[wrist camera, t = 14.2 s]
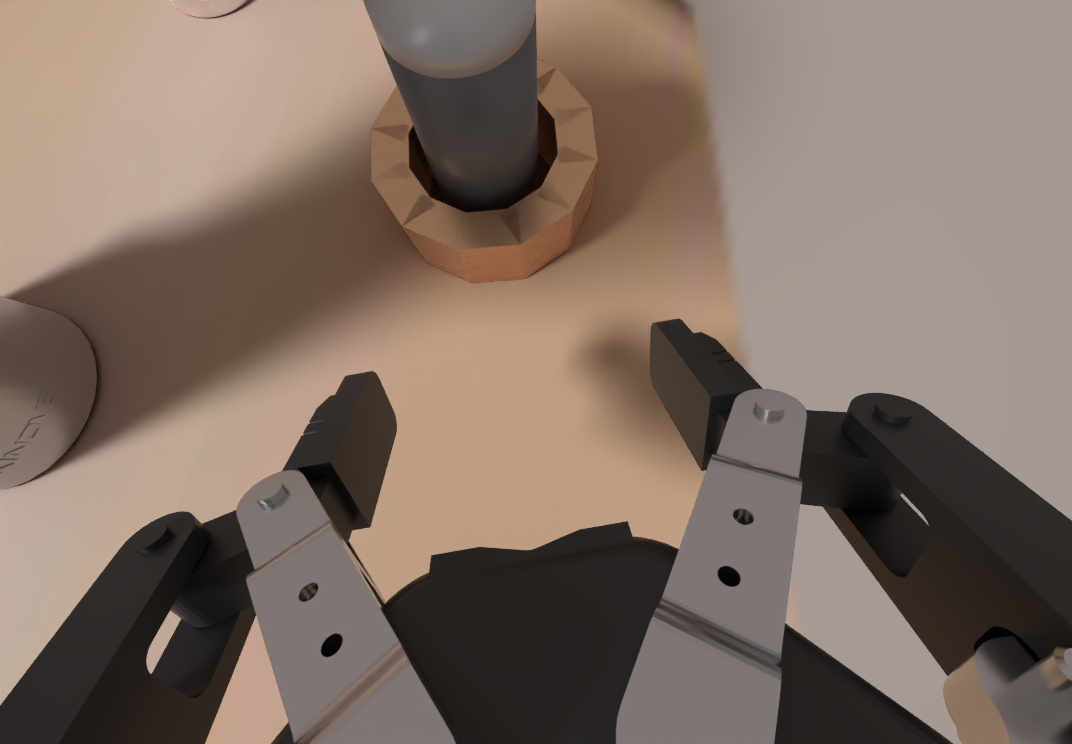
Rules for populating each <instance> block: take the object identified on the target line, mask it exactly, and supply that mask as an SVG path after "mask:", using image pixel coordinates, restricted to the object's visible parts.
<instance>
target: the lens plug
mask: <svg viewBox="0 0 1072 744" xmlns="http://www.w3.org/2000/svg"><path fill="white" fill-rule="evenodd" d="M364 4H365V7H366V9H367V12H368V14H369V17H370V19H371V22H372V24H373V27H374V29H375V32H376V34H377V37H378V39H379V42H380V44H381V46H382V49H383V51H384V54H385V56H386V59H387V61H388V64H389V66H390V69H391V71H392V74H393V76H394V79H395V81H396V84H397V86H398V89H399V91H400V94H401V96H402V99H403V101H404V103H405V106H406V108H407V111H408V113H409V116H410V118H411V121H412V123H413V126H414V128H415V131H416V133H417V136H418V138H419V141H420V143H421V146H422V148H423V151H424V153H425V156H426V158H427V160H428V163H429V165H430V168H431V170H432V173H433V175H434V178H435V180H436V183H437V185H438V188H439V190H440V193H441V195H442V198H443V200H444V203H445V204H447V205H449V206H452V207H454V208H456V209H459V210H461V211H463V212H466V213H468V212H479V211H490V210H501V209H508V208H509V207H511V206H512V205H514V204H515V203H517V202H519V201H520V200H522V199H523V198H525V197H526V196H528V195H530V194H531V193H533V192H534V191H536V190H537V189H539V152H538V100H537V48H536V0H364Z"/></svg>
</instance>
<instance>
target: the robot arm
mask: <svg viewBox="0 0 1072 744" xmlns="http://www.w3.org/2000/svg"><path fill="white" fill-rule="evenodd" d="M650 374H651V379H652V383H653V386H654V388H655V390H656V392H657V394H658V396H659V397H660V399H661V401H662V403H663V404H664V406H665V408H666V410H667V411H668V413H669V415H670V417H671V418H672V420H673V422H674V424H675V425H676V427H677V429H678V431H679V432H680V434H681V436H682V438H683V439H684V441H685V443H686V445H687V446H688V448H689V450H690V452H691V453H692V455H693V457H694V459H695V460H696V462H697V464H698V466H699V467H700V469H701V471H704V470H706V473H705V476H704V479H703V482H702V485H701V488H700V490H699V493H698V496H697V499H696V502H695V505H694V508H693V510H692V513H691V516H690V519H689V522H688V525H687V528H686V531H685V533H684V536H683V539H682V542H681V545H680V548H679V549H677V548H675V547H672V546H670V545H668V544H665V543H662V542H659V541H656V540H652V539H647V538H642V537H632V534H631V531H630V527H629V524H628V521H627V522H621V523H615V524H610V525H604V526H598V527H592V528H587V529H581V530H578V531H575V532H573V533H571V534H568V535H566V536H564V537H561V538H559V539H557V540H554V541H552V542H550V543H548V544H545V545H543V546H541V547H538V548H536V549H533V550H513V549H499V548H485V547H477V548H471V549H466V550H460V551H454V552H448V553H443V554H437V555H431V563H430V571H429V573H427V574H425V575H423V576H421V577H419V578H417V579H416V580H414V581H412V582H411V583H409V584H408V585H406V586H405V587H404V588H402V589H401V590H400V591H398V592H397V593H396V594H395V595H394V596H393V597H391V598H390V599H389V600H388V601H387V602H386V600H385V599H384V597H383V595H382V594H381V592H380V591H379V589H378V587H377V586H376V584H375V582H374V581H373V579H372V577H371V576H370V574H369V572H368V571H367V569H366V568H365V566H364V564H363V563H362V561H361V559H360V558H359V556H358V554H357V553H356V551H355V549H354V548H353V546H352V545H351V543H350V542H349V538H350V535H351V532H352V530H357V529H362V528H368V527H370V526H371V523H372V519H373V515H374V512H375V508H376V505H377V501H378V497H379V494H380V490H381V486H382V483H383V479H384V476H385V472H386V468H387V465H388V461H389V458H390V454H391V450H392V447H393V443H394V440H395V436H396V432H397V422H396V417H395V413H394V411H393V409H392V406H391V404H390V402H389V400H388V397H387V395H386V393H385V390H384V388H383V386H382V384H381V381H380V379H379V377H378V375H377V374H376V373H375V372H373V371H371V372H365V373H359V374H353V375H348V376H345V377H344V379H343V381H342V383H341V385H340V387H339V389H338V391H337V392H336V394H335V395H332V396H330V397H329V398H328V399H327V400H325V401H324V402H323V403H322V404H321V405H320V406H319V407H318V408H317V409H316V411H315V413H314V415H313V416H312V418H311V420H310V424H308V425H307V427H306V429H305V431H304V435H303V436H301V438H300V440H299V442H298V443H297V445H296V447H295V449H294V450H293V452H292V454H291V456H290V458H289V459H288V461H287V463H286V465H285V467H284V468H283V470H282V472H278V473H275V474H273V475H271V476H268V477H267V478H265V479H263V480H261V481H260V482H258V483H257V484H256V485H254V486H253V487H252V488H251V489H250V490H248V492H247V493H246V494H245V495H244V496H243V497H242V499H241V500H240V502H239V504H238V506H237V510H235V511H233V512H230V513H228V514H225V515H223V516H220V517H218V518H215V519H213V520H210V521H208V522H206V523H203V524H201V523H200V522H199V521H198V520H197V519H196V518H195V517H194V516H193V515H192V514H191V513H189V512H175V513H171V514H168V515H165V516H163V517H161V518H159V519H156V520H155V521H153V522H151V523H149V524H148V525H146V526H145V527H143V528H142V529H140V530H139V531H138V532H136V533H135V534H134V535H133V536H132V537H130V538H129V539H128V540H127V541H126V542H125V543H124V545H123V546H122V547H121V548H120V549H119V551H118V552H117V553H116V555H115V556H114V557H113V559H112V560H111V561H110V563H109V564H108V565H107V566H106V568H105V569H104V570H103V572H102V573H101V574H100V576H99V577H98V578H97V580H96V581H95V582H94V583H93V585H92V586H91V587H90V589H89V590H88V591H87V593H86V594H85V595H84V597H83V598H82V599H81V601H80V602H79V603H78V604H77V606H76V607H75V608H74V610H73V611H72V612H71V614H70V615H69V616H68V618H67V619H66V620H65V622H64V623H63V624H62V625H61V627H60V628H59V629H58V631H57V632H56V633H55V635H54V636H53V637H52V639H51V640H50V641H49V642H48V644H47V645H46V646H45V648H44V649H43V650H42V652H41V653H40V654H39V656H38V657H37V658H36V660H35V661H34V662H33V663H32V665H31V666H30V667H29V669H28V670H27V671H26V673H25V674H24V675H23V677H22V678H21V679H20V680H19V682H18V683H17V684H16V686H15V687H14V688H13V690H12V691H11V692H10V694H9V695H8V696H7V698H6V699H5V700H4V701H3V703H2V704H1V705H0V744H205V742H206V739H207V737H208V734H209V732H210V729H211V727H212V724H213V722H214V719H215V717H216V714H217V712H218V709H219V707H220V704H221V702H222V699H223V697H224V694H225V692H226V689H227V687H228V684H229V682H230V679H231V677H232V674H233V672H234V669H235V667H236V664H237V662H238V659H239V656H240V654H241V651H242V649H243V646H244V644H245V641H246V639H247V636H248V634H249V631H250V629H251V626H252V624H253V621H254V619H255V616H257V619H258V622H259V625H260V629H261V632H262V635H263V639H264V642H265V645H266V649H267V652H268V655H269V658H270V662H271V665H272V668H273V672H274V675H275V678H276V682H277V685H278V688H279V692H280V695H281V698H282V701H283V705H284V708H285V711H286V715H287V718H288V721H289V722H288V723H287V725H286V726H285V727H284V728H283V730H282V731H281V732H280V733H279V735H278V736H277V737H276V738H275V739H274V741H273V742H272V743H271V744H953V743H951V742H950V741H949V740H948V739H946V738H945V737H943V736H942V735H941V734H940V733H938V732H937V731H935V730H934V729H933V728H931V727H930V726H928V725H927V724H926V723H924V722H923V721H921V720H920V719H919V718H917V717H916V716H914V715H913V714H912V713H910V712H909V711H907V710H906V709H905V708H903V707H902V706H900V705H899V704H898V703H896V702H895V701H893V700H892V699H891V698H889V697H888V696H886V695H885V694H884V693H882V692H881V691H879V690H878V689H877V688H875V687H874V686H872V685H871V684H870V683H868V682H866V681H865V680H864V679H863V678H861V677H860V676H858V675H857V674H855V673H854V672H853V671H851V670H850V669H849V668H847V667H846V666H844V665H843V664H842V663H840V662H839V661H837V660H836V659H834V658H833V657H832V656H830V655H829V654H827V653H826V652H825V651H823V650H822V649H820V648H819V647H818V646H816V645H815V644H814V643H812V642H811V641H809V640H808V639H807V638H805V637H804V636H802V635H801V634H800V633H798V632H797V631H795V630H794V629H793V628H791V627H790V626H788V625H787V624H786V623H785V619H786V611H787V603H788V595H789V587H790V579H791V571H792V563H793V555H794V547H795V539H796V531H797V523H798V514H799V507H800V504H805V505H813V506H823V507H824V509H825V510H826V512H827V513H828V514H829V516H830V517H831V519H832V520H833V521H834V523H835V524H836V525H837V527H838V528H839V529H840V530H841V532H842V533H843V535H844V536H845V537H846V539H847V540H848V542H849V543H850V544H851V545H852V547H853V548H854V550H855V551H856V552H857V554H858V555H859V556H860V558H861V559H862V560H863V562H864V563H865V565H866V566H867V567H868V569H869V570H870V571H871V572H872V574H873V575H874V577H875V578H876V580H877V581H878V582H879V583H880V585H881V586H882V588H883V589H884V590H885V592H886V593H887V594H888V596H889V597H890V599H891V600H892V601H893V603H894V604H895V605H896V607H897V608H898V609H899V611H900V612H901V614H902V615H903V616H904V617H905V619H906V620H907V622H908V623H909V624H910V626H911V627H912V628H913V630H914V631H915V633H916V634H917V635H918V637H919V638H920V639H921V641H922V642H923V643H924V645H925V646H926V647H927V649H928V650H929V652H930V653H931V654H932V656H933V657H934V658H935V660H936V661H937V662H938V664H939V665H940V666H941V668H942V669H943V670H944V672H945V673H946V675H947V676H948V677H947V679H946V681H945V683H944V688H943V693H944V700H945V704H946V707H947V710H948V712H949V715H950V717H951V718H952V720H953V722H954V724H955V725H956V727H957V734H958V737H959V739H960V741H961V743H962V744H1072V521H1071V520H1070V519H1069V518H1067V517H1066V516H1065V515H1063V514H1062V513H1061V512H1060V511H1058V510H1057V509H1056V508H1054V507H1053V506H1052V505H1050V504H1049V503H1048V502H1047V501H1045V500H1044V499H1043V498H1041V497H1040V496H1039V495H1038V494H1036V493H1035V492H1034V491H1032V490H1031V489H1030V488H1028V487H1027V486H1026V485H1025V484H1023V483H1022V482H1021V481H1019V480H1018V479H1017V478H1015V477H1014V476H1013V475H1012V474H1010V473H1009V472H1008V471H1006V470H1005V469H1004V468H1002V467H1001V466H1000V465H999V464H997V463H996V462H995V461H993V460H992V459H991V458H989V457H988V456H987V455H986V454H984V453H983V452H982V451H980V450H979V449H978V448H977V447H975V446H974V445H973V444H971V443H970V442H969V441H967V440H966V439H965V438H964V437H962V436H961V435H960V434H958V433H957V432H956V431H955V430H953V429H952V428H950V427H949V426H948V425H947V424H946V423H944V422H943V421H942V420H940V419H939V418H938V417H936V416H935V415H934V414H933V413H931V412H930V411H929V410H927V409H926V408H924V407H923V406H921V405H919V404H917V403H916V402H913V401H911V400H909V399H906V398H903V397H899V396H895V395H890V394H884V393H867V394H863V395H860V396H857V397H855V398H854V399H853V400H852V401H851V403H850V405H849V408H848V410H847V412H829V411H811V410H806V409H805V408H804V406H803V405H802V404H801V403H800V402H799V401H798V400H797V399H795V398H793V397H792V396H790V395H788V394H785V393H782V392H779V391H775V390H770V389H762V387H761V386H760V385H759V384H758V383H757V382H756V381H755V380H754V379H753V378H752V377H751V376H750V375H749V374H748V373H747V371H746V370H745V369H744V368H743V367H742V366H741V365H740V364H739V363H738V362H737V361H735V359H734V358H733V357H732V356H731V355H730V353H729V352H727V351H726V349H725V348H724V347H723V346H722V345H721V344H720V343H719V342H718V341H717V340H716V339H714V338H712V337H710V336H708V335H706V334H704V333H702V332H699V333H692V331H691V330H690V329H689V328H688V327H687V326H686V324H685V323H684V322H683V321H682V320H681V319H673V320H668V321H662V322H656V323H653V324H652V326H651V340H650ZM96 383H97V372H96V361H95V357H94V354H93V351H92V349H91V346H90V343H89V342H88V340H87V339H86V337H85V336H84V334H83V333H82V331H81V330H80V329H79V328H78V327H77V326H76V325H75V324H74V323H73V322H71V321H70V320H69V319H68V318H66V317H64V316H62V315H60V314H58V313H56V312H54V311H51V310H47V309H43V308H40V307H36V306H33V305H29V304H25V303H22V302H18V301H15V300H11V299H7V298H4V297H0V490H4V489H9V488H12V487H14V486H17V485H19V484H22V483H24V482H27V481H29V480H31V479H32V478H34V477H35V476H37V475H39V474H40V473H42V472H43V471H45V470H47V469H48V468H49V467H50V466H51V465H52V464H54V463H55V462H56V461H57V460H58V459H59V458H60V457H61V456H62V455H64V454H65V452H66V451H67V450H68V449H69V447H70V446H71V445H72V443H73V442H74V441H75V440H76V438H77V437H78V436H79V434H80V432H81V430H82V428H83V426H84V424H85V423H86V421H87V419H88V417H89V414H90V411H91V408H92V405H93V402H94V398H95V392H96ZM902 493H903V494H904V495H905V496H906V497H907V498H908V499H909V500H910V501H911V503H912V504H913V505H914V506H915V507H916V508H917V509H918V510H919V511H920V512H921V513H922V514H923V515H924V517H925V518H926V520H927V522H928V524H929V526H928V525H927V524H926V522H925V521H924V520H923V519H922V518H921V517H920V516H919V515H918V514H917V513H916V512H915V511H914V510H913V509H912V508H911V507H910V506H909V505H908V504H907V502H905V500H903V498H902V497H901V496H900V495H901V494H902ZM170 610H171V611H172V612H173V613H175V614H176V615H177V616H179V617H180V618H181V621H180V622H179V624H178V626H177V628H176V630H175V632H174V634H173V635H172V637H171V639H170V641H169V643H168V645H167V647H166V648H165V650H164V652H163V654H162V656H161V658H160V660H159V661H158V663H157V665H156V667H155V669H154V671H153V673H152V674H150V673H149V671H148V669H147V665H146V658H147V652H148V649H149V647H150V645H151V643H152V641H153V639H154V637H155V636H156V634H157V632H158V630H159V629H160V627H161V625H162V623H163V622H164V620H165V618H166V616H167V615H168V613H169V611H170Z"/></svg>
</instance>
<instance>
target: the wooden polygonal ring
mask: <svg viewBox="0 0 1072 744" xmlns="http://www.w3.org/2000/svg"><path fill="white" fill-rule="evenodd" d="M537 100H538V152H539V154H540V155H541V156H542V157H543V159H544V160H545V161H546V162H547V164H548V165H549V166H550V167H551V169H550V171H549V173H548V175H547V176H546V178H545V180H544V182H543V184H542V186H541V187H540V188H539V189H537V190H536V191H534V192H533V193H531V194H530V195H528V196H526V197H525V198H523V199H522V200H520V201H519V202H517V203H515V204H514V205H512V206H511V207H509V208H508V209H501V210H490V211H479V212H468V213H466V212H463V211H461V210H459V209H456V208H454V207H452V206H449V205H447V204H444V203H442V202H440V201H437V200H435V199H433V198H431V181H432V180H433V178H434V175H433V173H432V170H431V168H430V165H429V163H428V160H427V158H426V156H425V153H424V151H423V148H422V146H421V143H420V141H419V138H418V136H417V133H416V131H415V128H414V126H413V123H412V121H411V118H410V116H409V113H408V111H407V108H406V106H405V103H404V101H403V99H402V96H401V94H400V91H399V89H398V86H396V88H395V90H394V91H393V93H392V94H391V96H390V98H389V99H388V101H387V103H386V104H385V106H384V107H383V109H382V111H381V112H380V114H379V116H378V117H377V119H376V120H375V122H374V124H373V125H372V127H371V182H372V183H373V185H374V186H375V188H376V189H377V191H378V192H379V194H380V195H381V197H382V198H383V200H384V201H385V203H386V204H387V206H388V207H389V209H390V210H391V212H392V213H393V215H394V216H395V218H396V219H397V221H398V222H399V224H400V225H401V226H402V228H403V229H404V231H405V232H406V234H407V235H408V237H409V238H410V239H411V241H412V242H413V244H414V245H415V247H416V248H417V250H418V251H419V253H420V254H421V256H422V257H423V258H424V260H425V261H426V263H428V264H431V265H433V266H435V267H437V268H440V269H442V270H444V271H446V272H449V273H451V274H453V275H455V276H458V277H460V278H462V279H464V280H467V281H469V282H471V283H480V282H491V281H502V280H514V279H525V278H527V277H528V276H530V275H531V274H533V273H534V272H536V271H537V270H539V269H540V268H542V267H543V266H545V265H546V264H548V263H549V262H551V261H553V260H554V259H556V258H557V257H559V256H560V255H562V254H563V253H565V252H566V251H568V250H569V248H570V246H571V244H572V242H573V240H574V238H575V236H576V234H577V232H578V230H579V228H580V226H581V224H582V222H583V220H584V218H585V216H586V214H587V212H588V210H589V208H590V204H591V198H592V192H593V186H594V180H595V174H596V168H597V162H598V156H597V148H596V140H595V132H594V124H593V116H592V107H591V106H590V105H589V103H588V102H587V101H586V100H585V99H584V98H583V96H582V95H581V94H580V93H579V92H578V91H577V89H576V88H575V87H574V86H573V85H572V83H571V82H570V81H569V80H568V79H567V78H566V76H565V75H564V74H563V73H562V72H561V71H560V69H559V68H558V67H557V66H555V65H552V64H549V63H546V62H544V61H541V60H538V59H537Z"/></svg>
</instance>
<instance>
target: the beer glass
mask: <svg viewBox="0 0 1072 744" xmlns="http://www.w3.org/2000/svg"><path fill="white" fill-rule="evenodd" d="M168 1H169V2H170V3H171V4H172V5H173V6H174V7H175V8H177V9H178V10H179V11H181V12H183V13H185V14H188V15H191V16H195V17H201V18H211V17H218V16H222V15H225V14H228V13H230V12H233V11H235V10H236V9H238V8H240V7H241V6H243V5H244V4H245V3H246V2H248V1H249V0H168Z"/></svg>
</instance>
